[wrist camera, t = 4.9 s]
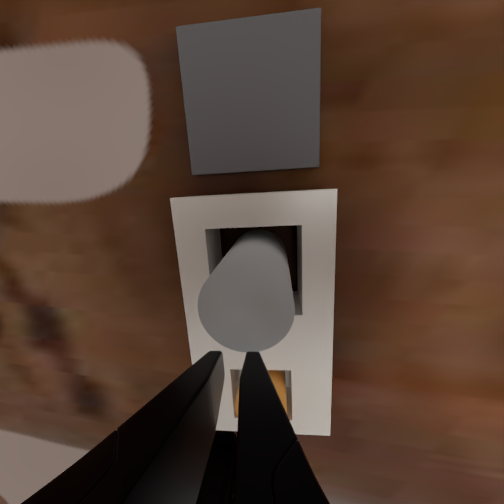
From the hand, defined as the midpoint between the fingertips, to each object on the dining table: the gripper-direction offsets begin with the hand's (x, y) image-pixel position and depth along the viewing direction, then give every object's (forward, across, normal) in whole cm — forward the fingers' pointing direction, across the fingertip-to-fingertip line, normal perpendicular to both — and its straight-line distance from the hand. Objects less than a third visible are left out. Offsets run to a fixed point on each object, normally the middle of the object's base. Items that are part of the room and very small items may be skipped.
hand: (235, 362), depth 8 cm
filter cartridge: (+12, 0, 0) cm, 12 cm away
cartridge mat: (+12, 0, -11) cm, 17 cm away
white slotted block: (+12, 0, +4) cm, 13 cm away
